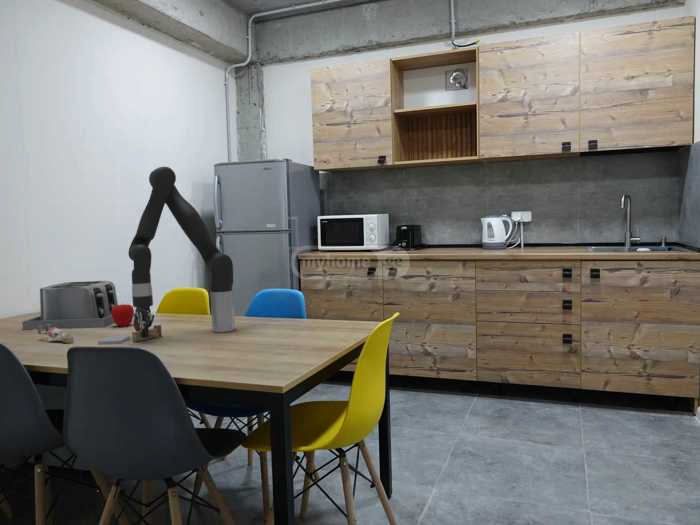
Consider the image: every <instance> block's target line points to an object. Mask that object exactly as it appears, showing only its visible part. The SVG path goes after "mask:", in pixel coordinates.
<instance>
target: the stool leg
mask: <svg viewBox="0 0 700 525" xmlns="http://www.w3.org/2000/svg"><path fill="white" fill-rule="evenodd" d="M148 334H149V337H148V338H142V333H141V331H136V330H135V331H133V332H131V337H132V342H141V341H146V340H150V339H158V338H157V337H161V336H163V335H162V334H163V333H162V325H161V324H156V325H155V324H154V325H153V328H149V329H148Z"/></svg>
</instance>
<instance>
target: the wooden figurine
mask: <svg viewBox="0 0 700 525" xmlns="http://www.w3.org/2000/svg"><path fill="white" fill-rule="evenodd" d="M136 310H137V307H135V309H134V314H136V313H137V311H136ZM133 327H134V331H135V332H136V331H140V330H141V328H140V326H139V327H138V325H137V322H136V320H135V317H133ZM148 329H150V327H149V328H148Z"/></svg>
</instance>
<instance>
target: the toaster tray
mask: <svg viewBox="0 0 700 525" xmlns="http://www.w3.org/2000/svg"><path fill="white" fill-rule="evenodd" d="M134 314H135V313H134ZM134 314H133V316H134ZM21 324H22V331H31V330H30V329H38V327H39V326H43V328H44V330H46V325H47V324H50V325H51V328H54V327H56V328H58V329H60V328H70V329H91V328H92V329H93V328H94V329H95V328H99V329H100V328H106V327H109V326H112V325H114V324H115V322H114V320H113V318H112V315H111V316H108V317H106V318H102V319H73V320H44V321H41V315H39V316H36V317H33V318H30V319H29V318H28V319H26V320H24V321H22V323H21ZM60 330H61V329H60Z"/></svg>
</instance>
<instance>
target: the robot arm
mask: <svg viewBox="0 0 700 525" xmlns="http://www.w3.org/2000/svg"><path fill="white" fill-rule="evenodd" d="M148 180H149V181H148V182H149V185H150V186H151V188H152V189H151V192H150V196H149V198H148V202H147V203H146V206H145V208H144V210H143V212H142V215H141V216H140V219H139V223H138V226H137V229H136V232H135V235H134V237H133V239H132V241H131V243H130V245H129V247H128V257H129V259H130V260H131V261H133V269H132V270H131V293H132V294H131V296H132V307H133V308H137V310H136V309H135V310H136V311H137V313H134V315H133V318H135V320H136V322H137V325H138V327H139V326H140V328H141V333H142V338H148V337H149V334H148V328H149V329H150V328H151V327H152V325H153V322H154V319H155V315H154V314H151V313H152V312H151V311H152V310H151V307H152V306H153V305H154V298H153V296H154V295H153V286H152V278H151V277H152V276H151V267H152V252H151V249H150V247H149V246H150V243H151V241H152V240H154V238H155V236H156V233H157V230H158V227H159V223H160V220H161V216H162V213H163V209H164V207H165V205H166V206H167V208H168V209H169V211H170V212H171V214H172V216H173V218H174V219H175V220H176V222H177V224H178V225H179V227H180V228H181V230H182V232H184V235H186V237H187V238H188V239H189V241H190V242H191V243H192V244H193V246H194V247H195V248H196V250H197V251H198V252H199V254H200V256H201V258H202V259H203V261H204V263H205V265H206V267H207V269H208V270H209V272H210V273H211V283H210V285H209V289H210V290H209V292H210V308H211V309H210V310H211V328H212V332H213V333H227V332H234V331H235V330H236V313H235V312H236V311H235V307H234V301H233V300H234V298H233V285H234V264H233V260H232V258H231V257H230V256H229V255H227V254H225V253H222V252H221V251H220V250H219V248H218V247H217V246H216V244H215V242H214V241H213V239H212V237H211V235H210V232H209V228H208V227H207V226H208V225H207V224H206V223H205V220H204V219H203V218H202V216H201V215H200V213H199V211H198V210H197V209H196V208H195V207H194V206H193V205H192V204H191V203H189V201H188V200H186V199H185V198H184V197H183V195H182V194H181V193H180V192H179V190H178V189H177V187H176V185H175V183H176V181H177V177H176V173H175V171H174V170H173V169H172V168H171V167H169V166H159V167H157V168H155V169H154V170H152V171H150V174H149V176H148Z"/></svg>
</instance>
